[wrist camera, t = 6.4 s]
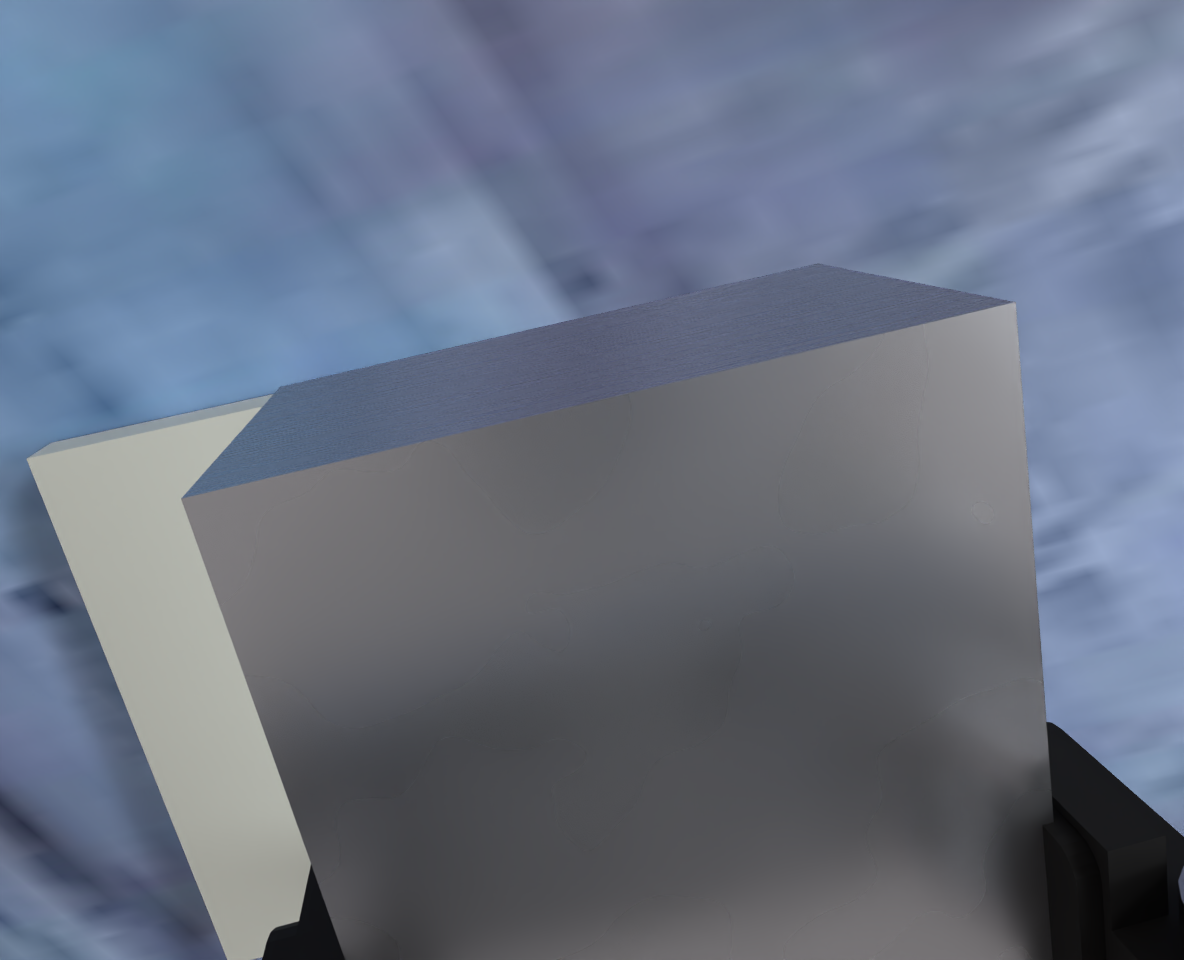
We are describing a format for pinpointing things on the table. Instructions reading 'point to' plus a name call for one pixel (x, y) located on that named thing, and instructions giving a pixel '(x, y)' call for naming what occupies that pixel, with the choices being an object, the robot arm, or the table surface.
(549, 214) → the table surface
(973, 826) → the link plate
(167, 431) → the board
